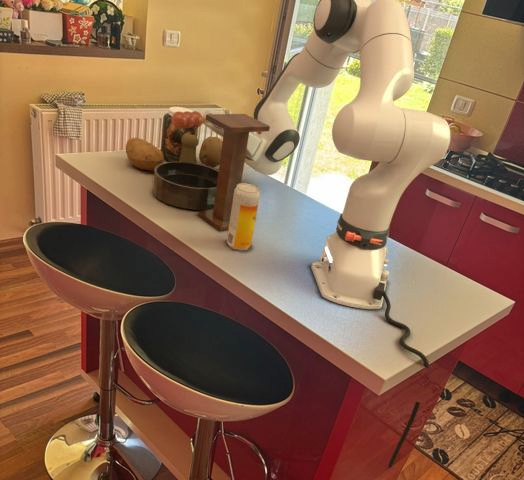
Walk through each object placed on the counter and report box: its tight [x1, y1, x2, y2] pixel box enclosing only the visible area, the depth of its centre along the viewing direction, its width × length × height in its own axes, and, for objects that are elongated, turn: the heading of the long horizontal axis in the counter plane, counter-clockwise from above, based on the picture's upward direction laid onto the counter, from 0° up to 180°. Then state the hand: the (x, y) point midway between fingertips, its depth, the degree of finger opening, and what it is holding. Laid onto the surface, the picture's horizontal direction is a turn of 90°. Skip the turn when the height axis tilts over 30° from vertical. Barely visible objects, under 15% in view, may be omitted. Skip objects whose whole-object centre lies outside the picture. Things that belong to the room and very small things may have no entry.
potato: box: [125, 137, 165, 172], centre depth 164 cm, size 10×14×8 cm
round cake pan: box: [152, 161, 219, 211], centre depth 153 cm, size 20×20×6 cm
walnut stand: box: [197, 113, 270, 232], centre depth 139 cm, size 12×10×26 cm
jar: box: [160, 106, 199, 162], centre depth 176 cm, size 12×12×15 cm
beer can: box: [226, 182, 261, 251], centre depth 131 cm, size 6×6×15 cm
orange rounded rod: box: [172, 110, 209, 129], centre depth 143 cm, size 16×4×4 cm, turn 131°
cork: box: [179, 134, 199, 163], centre depth 169 cm, size 6×6×11 cm
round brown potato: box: [198, 136, 223, 169], centre depth 175 cm, size 9×9×10 cm
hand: (211, 117), depth 146 cm, fingers closed on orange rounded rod, 2 cm apart
